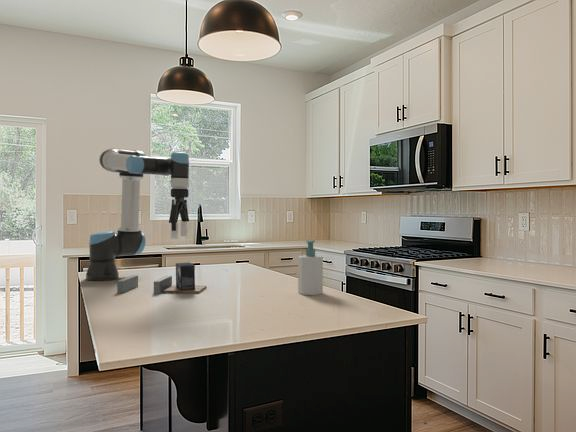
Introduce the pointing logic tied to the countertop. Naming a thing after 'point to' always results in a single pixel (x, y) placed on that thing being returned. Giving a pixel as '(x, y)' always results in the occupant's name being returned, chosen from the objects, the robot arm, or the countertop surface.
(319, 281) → the soap bottle
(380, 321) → the countertop surface
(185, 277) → the small box
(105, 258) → the robot arm
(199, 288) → the walnut pad
